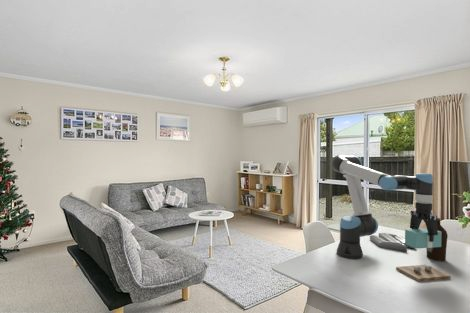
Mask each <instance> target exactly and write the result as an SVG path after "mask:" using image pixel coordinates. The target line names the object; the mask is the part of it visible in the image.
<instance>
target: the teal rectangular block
mask: <svg viewBox="0 0 470 313" xmlns="http://www.w3.org/2000/svg"><path fill="white" fill-rule="evenodd" d="M441 234H442V232H441V231H438V235H434V241H433V242H432V247H441ZM427 235H428V231H427V227H426V228H419V229H412V228H407V229H406V228H405V230H404V238H405V244H406V245H408V246H411V247H413V248H416V250H417V249H426V248H427ZM413 248H412V249H413Z"/></svg>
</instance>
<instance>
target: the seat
mask: <svg viewBox="0 0 470 313" xmlns="http://www.w3.org/2000/svg"><path fill="white" fill-rule="evenodd" d="M395 270H396V271H397V272H400V273H402V274H403V275H404V276H407V277H409V278H411V279H412V280H414V281H416V282H430V281H441V280H449V279H451V278H452V275H451V274H449V273H446V272H443V271H442V270H440V269H437V268H435V267H432V266H431V265H429V264H418V265H417V264H416V265H405V266H396V267H395Z"/></svg>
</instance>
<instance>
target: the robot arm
mask: <svg viewBox="0 0 470 313" xmlns="http://www.w3.org/2000/svg"><path fill="white" fill-rule="evenodd" d="M330 166H331V168H332V169H333V171H335V172H337V173H340V174H341V175H342V176H343V178H345V179H346V183H347V184H346V185H347V188H348V192H349V196H350V201H351V205H352V209H353V215H346V216H343V217H341V218H340V222H339V243H338V246H337V247H336V248H337V249H336V254H337V255H338V256H339V257H342V258H345V259H349V260H359V259H360V260H361V259H362V258H363V256H364V252H363V248H362V247H361V246H362V245H361V237H366V236H367V237H368V236H369V237H370V236H371V235H375V234H376V233H377V231H378V228H379V223H378V221H377V219H376V218H375V217H374V216H373V215H372V213H371V212H370V211H369V210H368V205H367V201H366V197H365V194H364V189H363V185H362V181H361V180H363V181H365V182H368V183H370V184H374V185H375V186H379V187H380V188H381V189H382V190H384V191H389V192H390V191H395V190H411V191H415V196H414V199H415V202H414V204H415V205H414V206H415V207H414V208H415V210H411V211H410V216H411V217H410V222H409V229H420V226H421V223H422V221H423V222H424V223H425V226H426V228H427V231H428V235H427V248H432V242H433V241H434V235H438V230H437V218H438V215H434V214H433V213H432V211H433V197H434V196H433V192H434V191H433V189H434V188H433V187H434V176H433V175H432V173H425V172H424V173H423V172H418V173H415V176H414V175H413V176H412V175H411V176H409V175H402V174H401V175H398V174H396V175H390V174H387V173H384V172H381V171H378V170H375V169H371V168H369V167H365V166H363V161H362V159H361V158H360V157H358V156H356V155H353V154H348V155H347V154H337V155H336V156H334V157H333V158H332V159H331V162H330Z"/></svg>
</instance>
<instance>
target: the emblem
mask: <svg viewBox="0 0 470 313" xmlns="http://www.w3.org/2000/svg"><path fill="white" fill-rule="evenodd" d="M369 240H370V241H371V242H373V243H374V244H375V245H376V246H378V247H380V248H383V249H388V250H393V251H398V252H404V253H407V252H408V248H409V249H412V250H413V249H414V250H415V249H416V248H413V247H411V246H408V245H406V244H405V237H402V236H401V235H398V234H397V235H396V234H393V233H387V232H382V233H381V232H379V233H378V236H377V235H375V234H372V235H369ZM416 250H417V249H416Z"/></svg>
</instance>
